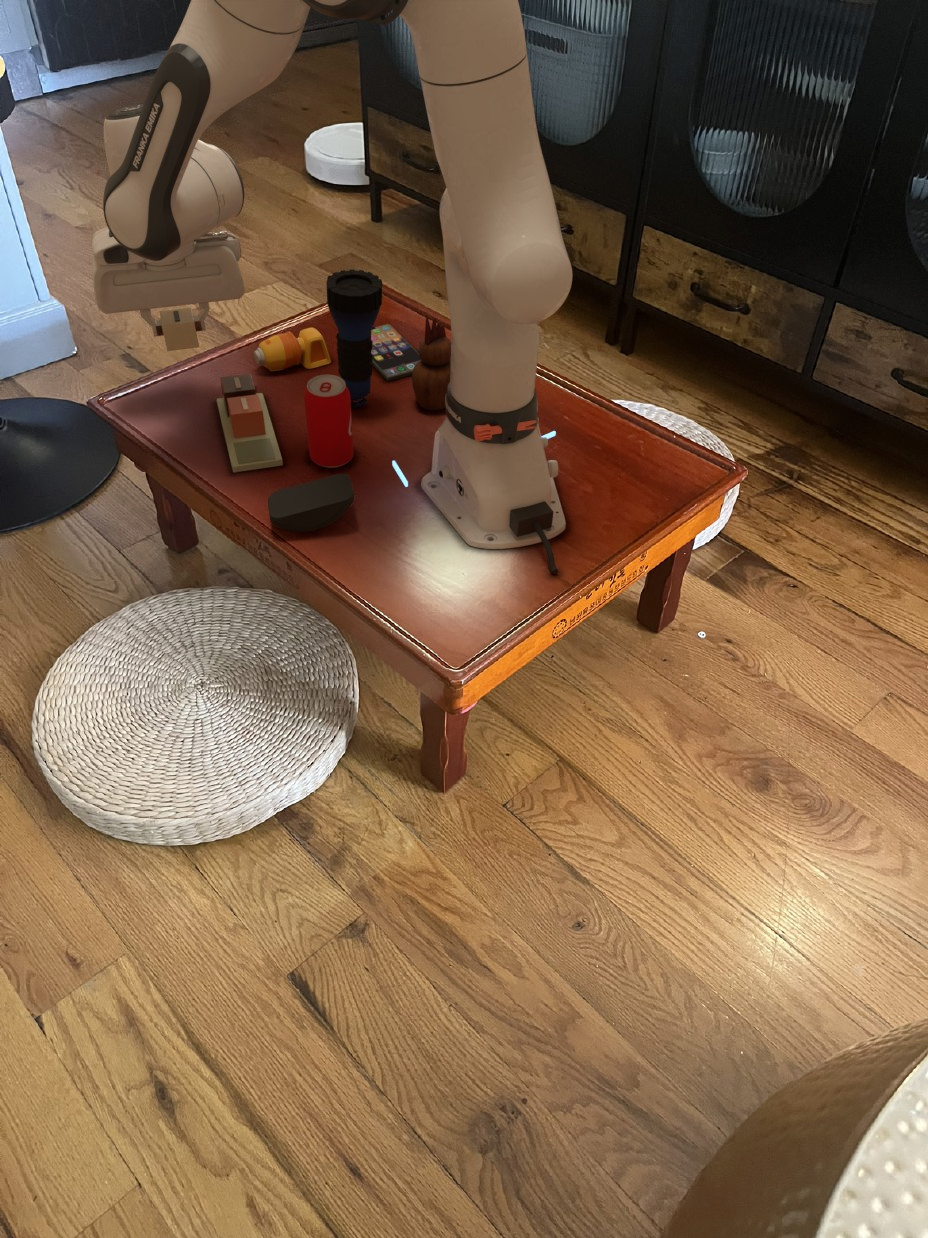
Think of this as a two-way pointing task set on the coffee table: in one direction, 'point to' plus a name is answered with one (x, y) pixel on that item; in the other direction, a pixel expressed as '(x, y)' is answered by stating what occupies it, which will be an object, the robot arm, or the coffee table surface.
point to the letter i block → (179, 329)
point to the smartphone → (392, 353)
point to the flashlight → (354, 326)
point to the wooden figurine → (432, 368)
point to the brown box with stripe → (237, 387)
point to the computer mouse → (311, 504)
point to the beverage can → (329, 421)
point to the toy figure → (293, 350)
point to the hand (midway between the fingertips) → (179, 331)
